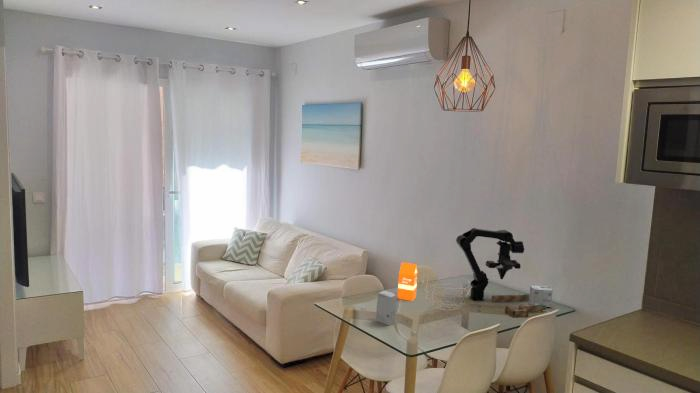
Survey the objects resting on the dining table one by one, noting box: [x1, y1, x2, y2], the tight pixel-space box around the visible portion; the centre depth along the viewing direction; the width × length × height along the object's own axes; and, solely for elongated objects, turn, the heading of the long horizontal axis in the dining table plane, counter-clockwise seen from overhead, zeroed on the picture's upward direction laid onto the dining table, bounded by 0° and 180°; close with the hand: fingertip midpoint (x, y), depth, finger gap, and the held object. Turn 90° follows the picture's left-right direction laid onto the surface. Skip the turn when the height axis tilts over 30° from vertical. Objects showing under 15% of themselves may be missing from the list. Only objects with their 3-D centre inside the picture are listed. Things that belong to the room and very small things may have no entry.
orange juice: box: [397, 262, 418, 302], centre depth 284 cm, size 8×9×20 cm
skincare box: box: [375, 289, 398, 326], centre depth 248 cm, size 8×6×15 cm
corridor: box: [491, 293, 547, 318], centre depth 276 cm, size 23×23×4 cm
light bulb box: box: [528, 285, 553, 308], centre depth 281 cm, size 11×7×11 cm, turn 90°
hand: (501, 279), depth 288 cm, fingers closed
